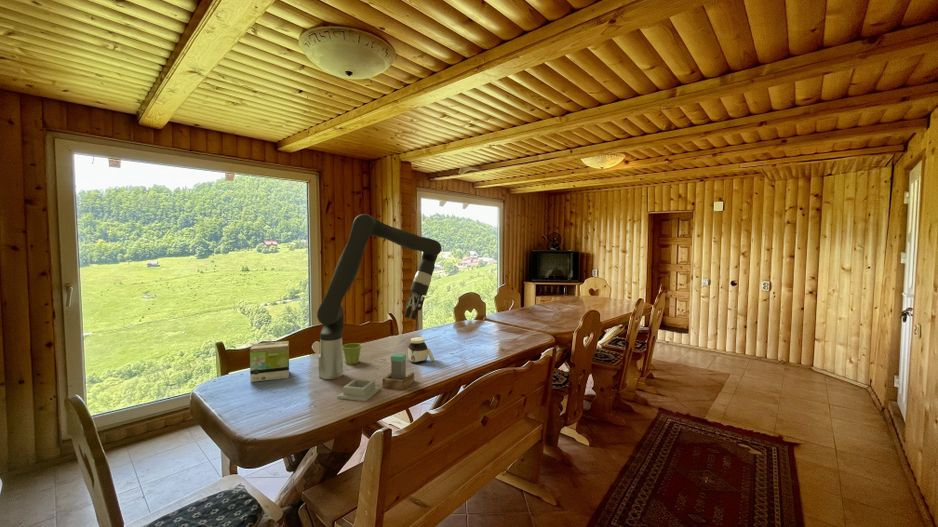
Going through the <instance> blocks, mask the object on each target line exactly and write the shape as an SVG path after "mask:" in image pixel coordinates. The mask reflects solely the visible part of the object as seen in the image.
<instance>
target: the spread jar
mask: <svg viewBox="0 0 938 527" xmlns="http://www.w3.org/2000/svg"><path fill="white" fill-rule="evenodd" d="M407 357H408V360H409V362H410V363H411V364H415V365H420V364H424V363H425V362H426V361H427V360H428V357H429V359H430V361H431V362H434V361H435V359H434V356H433V353H432V350H431V348H430V347H428V346H427V343H426V342H425V337H423V336H421V337H420V336H419V337H417V336H416V337H412V338H410V343H409V344H408V346H407Z"/></svg>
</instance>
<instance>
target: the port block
mask: <svg viewBox="0 0 938 527" xmlns="http://www.w3.org/2000/svg"><path fill="white" fill-rule="evenodd" d="M342 388H343V389H342V392H340V393H339V394H338V395H337V399H340V400H347V401H348V400H349V401H359V402H367V401H368V400H369V399H371V398H373V396H375V394H377V393H378V392H379V391H380V390H381V386H376V380H372V379H359V378H354V379H353V380H351V381H349V383H347V384H345V385H344V386H343V387H342Z"/></svg>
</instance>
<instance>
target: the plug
mask: <svg viewBox="0 0 938 527" xmlns="http://www.w3.org/2000/svg"><path fill="white" fill-rule="evenodd" d="M406 359H407V353H400V352H394V353H393V354H392V355H390V362H391V371H390V373H391V379H399V380H404V379H405V378H406V377H407V376H406V375H407V372H406V371H407V370H406V368H407V364H406V362H407V360H406Z"/></svg>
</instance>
